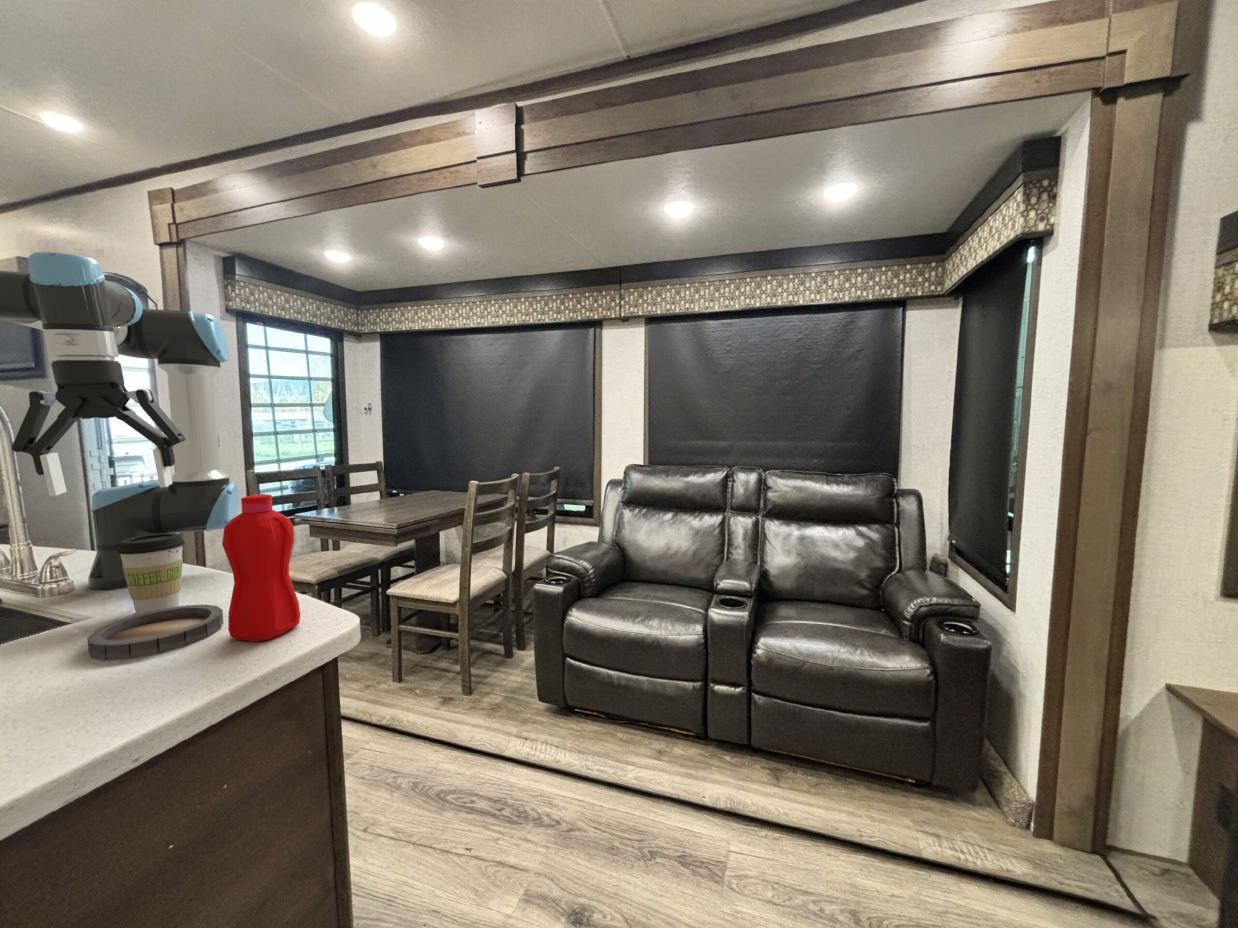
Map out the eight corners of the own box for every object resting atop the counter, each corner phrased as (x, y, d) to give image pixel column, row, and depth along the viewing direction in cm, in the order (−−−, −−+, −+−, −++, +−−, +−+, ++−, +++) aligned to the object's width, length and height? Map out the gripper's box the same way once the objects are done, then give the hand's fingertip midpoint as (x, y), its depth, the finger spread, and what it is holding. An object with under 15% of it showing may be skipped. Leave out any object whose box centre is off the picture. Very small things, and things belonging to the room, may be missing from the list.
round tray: (112, 629, 89) (111, 616, 89) (230, 610, 97) (229, 598, 97) (69, 670, 74) (67, 654, 74) (212, 643, 83) (211, 629, 83)
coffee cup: (149, 623, 92) (141, 545, 90) (109, 619, 94) (101, 543, 92) (203, 603, 101) (197, 533, 100) (165, 600, 103) (159, 531, 102)
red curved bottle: (259, 619, 93) (250, 490, 91) (309, 623, 91) (300, 491, 89) (211, 640, 84) (199, 498, 82) (265, 645, 82) (254, 499, 80)
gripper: (-49, 358, 68) (-10, 503, 73) (176, 359, 78) (199, 487, 82) (-8, 359, 75) (25, 492, 79) (194, 359, 85) (215, 478, 89)
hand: (114, 489), depth 81 cm, fingers open, 13 cm apart
